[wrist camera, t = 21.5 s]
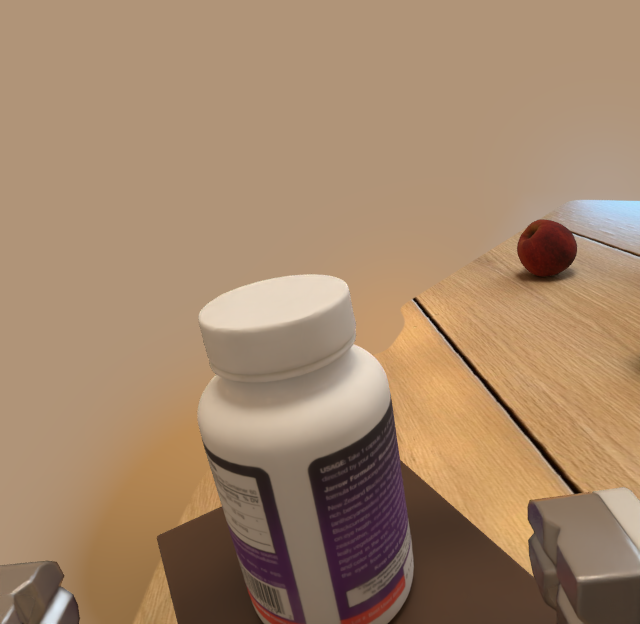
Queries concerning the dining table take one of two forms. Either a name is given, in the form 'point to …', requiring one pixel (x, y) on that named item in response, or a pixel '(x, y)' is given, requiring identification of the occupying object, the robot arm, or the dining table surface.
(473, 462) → the dining table surface
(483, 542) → the small side table
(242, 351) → the pill bottle
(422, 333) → the dining table surface
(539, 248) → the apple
